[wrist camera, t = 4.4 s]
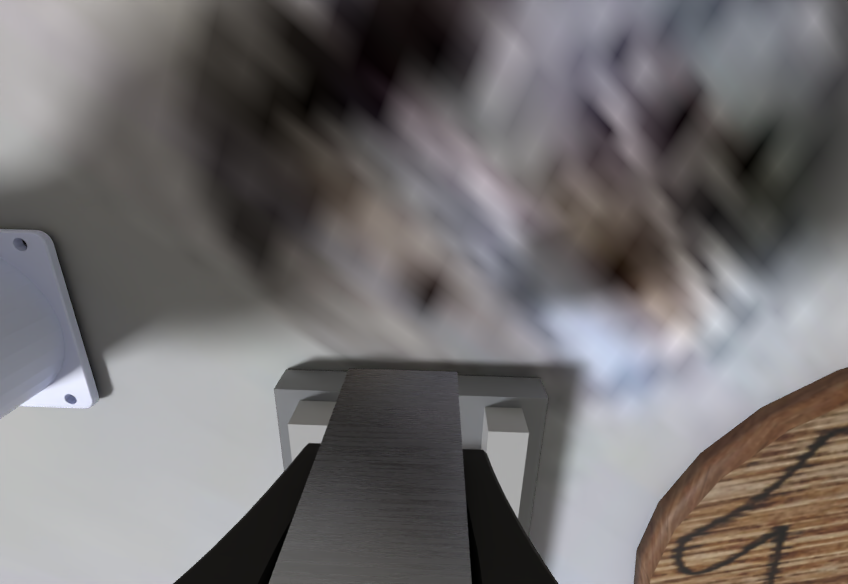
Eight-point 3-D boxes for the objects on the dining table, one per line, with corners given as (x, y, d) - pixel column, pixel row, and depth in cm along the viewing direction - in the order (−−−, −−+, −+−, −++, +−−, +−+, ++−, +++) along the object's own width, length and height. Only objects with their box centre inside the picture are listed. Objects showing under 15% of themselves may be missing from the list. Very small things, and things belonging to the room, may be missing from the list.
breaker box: (286, 369, 19) (259, 412, 16) (540, 377, 19) (558, 422, 16) (310, 589, 24) (293, 651, 21) (510, 598, 24) (520, 661, 21)
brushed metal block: (353, 454, 13) (268, 778, 7) (348, 368, 12) (241, 653, 6) (452, 458, 13) (465, 790, 7) (457, 371, 12) (477, 665, 6)
